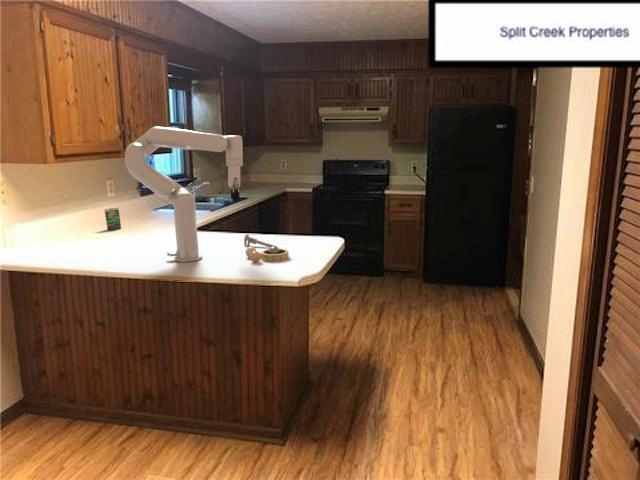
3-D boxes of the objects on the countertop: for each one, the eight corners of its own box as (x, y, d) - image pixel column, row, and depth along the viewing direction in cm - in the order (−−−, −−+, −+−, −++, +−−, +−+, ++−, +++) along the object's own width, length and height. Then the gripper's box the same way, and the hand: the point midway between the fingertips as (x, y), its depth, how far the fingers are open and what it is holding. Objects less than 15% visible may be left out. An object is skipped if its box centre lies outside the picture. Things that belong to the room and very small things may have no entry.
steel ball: (270, 255, 233) (268, 245, 235) (268, 259, 238) (267, 249, 240) (280, 254, 235) (279, 244, 237) (279, 258, 239) (277, 248, 241)
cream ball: (246, 259, 236) (246, 248, 235) (245, 256, 240) (244, 246, 239) (257, 258, 237) (256, 247, 236) (255, 255, 242) (255, 245, 241)
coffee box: (107, 230, 315) (104, 209, 312) (106, 229, 317) (104, 208, 315) (121, 228, 318) (119, 207, 316) (120, 228, 321) (118, 207, 318)
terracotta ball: (250, 263, 227) (250, 252, 226) (249, 261, 232) (248, 250, 231) (262, 262, 228) (261, 251, 227) (260, 260, 233) (259, 249, 232)
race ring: (263, 262, 229) (263, 256, 228) (259, 256, 240) (258, 250, 240) (291, 260, 232) (290, 253, 231) (285, 253, 244) (284, 247, 243)
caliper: (244, 246, 264) (243, 234, 263) (245, 245, 265) (244, 233, 263) (278, 249, 255) (277, 237, 253) (279, 248, 256) (278, 236, 254)
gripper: (225, 161, 244) (225, 197, 248) (227, 163, 228) (228, 202, 231) (240, 161, 246) (241, 197, 250) (244, 163, 230) (245, 201, 233)
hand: (235, 199), depth 240 cm, fingers open, 9 cm apart
